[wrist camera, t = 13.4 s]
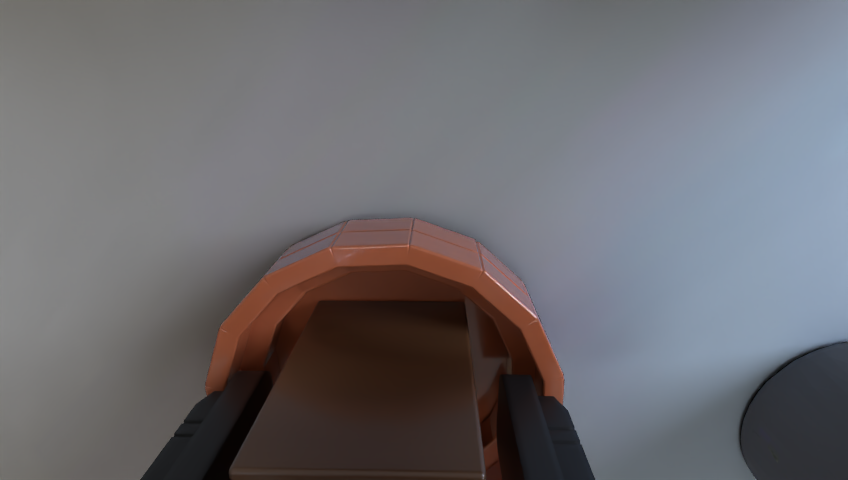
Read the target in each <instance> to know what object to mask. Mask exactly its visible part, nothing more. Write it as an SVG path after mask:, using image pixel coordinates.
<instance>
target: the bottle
mask: <svg viewBox="0 0 848 480" xmlns="http://www.w3.org/2000/svg"><path fill="white" fill-rule="evenodd" d="M741 447H742V451H743V456H744V459H745V461H746V463H747V465H748V467H749V469H750V470H751V472H752V473H753V475H754V476H755V477H756V479H757V480H848V342H847V343H841V344H835V345H831V346H828V347H825V348H822V349H819V350H816V351H813V352H811V353H809V354H807V355H805V356H803V357H801V358H799V359H797V360H795V361H793V362H792V363H790V364H789V365H788V366H786V367H785V368H783V369H782V370H781V371H780V372H778V373H777V374H776V375H775V376H773V377H772V378H771V379H770V380H768V381H767V382H766V383H765V385H764V386H763V387H762V388H761V389H760V390H759V392H758V393H757V395H756V396H755V398H754V399H753V401H752V402H751V404H750V406H749V408H748V411H747V413H746V416H745V418H744V420H743V425H742V432H741Z"/></svg>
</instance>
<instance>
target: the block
mask: <svg viewBox="0 0 848 480" xmlns="http://www.w3.org/2000/svg"><path fill="white" fill-rule="evenodd" d="M229 478H230V480H486V468H485V460H484V452H483V443H482V435H481V427H480V419H479V411H478V403H477V394H476V386H475V378H474V370H473V362H472V354H471V346H470V337H469V329H468V321H467V313H466V305H465V303H464V302H434V301H318V303H317V305H316V307H315V308H314V310H313V312H312V314H311V316H310V318H309V320H308V322H307V324H306V325H305V327H304V329H303V331H302V333H301V335H300V337H299V339H298V341H297V342H296V344H295V346H294V348H293V350H292V352H291V354H290V356H289V357H288V359H287V361H286V363H285V365H284V367H283V369H282V371H281V373H280V374H279V376H278V378H277V380H276V382H275V384H274V386H273V388H272V390H271V391H270V393H269V395H268V397H267V399H266V401H265V403H264V405H263V407H262V408H261V410H260V412H259V414H258V416H257V418H256V420H255V422H254V424H253V425H252V427H251V429H250V431H249V433H248V435H247V437H246V439H245V441H244V442H243V444H242V446H241V448H240V450H239V452H238V454H237V456H236V457H235V459H234V461H233V463H232V465H231V467H230V469H229Z"/></svg>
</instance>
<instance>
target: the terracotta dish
mask: <svg viewBox="0 0 848 480" xmlns="http://www.w3.org/2000/svg"><path fill="white" fill-rule="evenodd" d="M318 301H434V302H464V303H465V305H466V313H467V321H468V329H469V337H470V346H471V354H472V362H473V370H474V378H475V386H476V394H477V403H478V411H479V419H480V427H481V435H482V443H483V452H484V460H485V468H486V480H502V475H501V469H500V463H499V457H498V449H497V409H498V391H499V378H500V375H501V374H513V375H531V377H532V380H533V383H534V386H535V389H536V392H537V395H538V396H554V397H555V398H556V399H557V400H558V401H559V402H560V403H561V404H562V405H563V395H564V377H563V376H564V374H563V372H562V370H561V367H560V365H559V363H558V360H557V358H556V356H555V353H554V351H553V349H552V346H551V344H550V341H549V339H548V337H547V334H546V332H545V330H544V327H543V325H542V323H541V321H540V318H539V316H538V314H537V311H536V309H535V307H534V305H533V302H532V300H531V298H530V296H529V293H528V291H527V289H526V286H525V284H524V283H522V281H521V279H520V278H518V277H517V276H516V275H515V274H514V273H513V272H512V271H511V270H510V269H508V268H507V267H506V266H505V265H504V264H503V263H502V262H501V261H500V260H498V259H497V258H496V257H495V256H494V255H493V254H492V253H491V252H490V251H488V250H487V249H486V248H485V247H484V246H483V245H482V244H481V243H479V242H476V240H475V239H473V238H470V237H467V236H464V235H462V234H459V233H456V232H453V231H450V230H448V229H445V228H442V227H439V226H436V225H433V224H431V223H428V222H425V221H422V220H419V219H413V218H391V219H365V220H349V221H347V222H342V223H340V224H338V225H336V226H333V227H331V228H329V229H327V230H325V231H322V232H320V233H318V234H316V235H314V236H311V237H309V238H307V239H305V240H303V241H300V242H298V243H296V244H294V245H292V246H291V247H290V248H289V249H287V250H286V251H285V252H284V253H283V254H282V255H281V256H280V257H279V259H278V260H277V261H276V262H275V263H274V264H273V265H272V267H271V268H270V269H269V270H268V271H267V272H266V273H265V275H264V276H263V277H262V278H261V279H260V280H259V282H258V283H257V284H256V285H255V286H254V287H253V288H252V290H251V291H250V292H249V293H248V294H247V295H246V296H245V298H244V299H243V300H242V301H241V302H240V303H239V304H238V306H237V307H236V308H235V309H234V310H233V311H232V313H231V314H230V315H229V316H228V317H227V318H226V319H225V321H224V322H223V323H222V324H221V326H220V328H219V330H218V334H217V338H216V342H215V346H214V350H213V354H212V358H211V362H210V366H209V370H208V374H207V378H206V382H205V386H206V387H205V390H206V395H207V396H208V395H209V394H211V393H212V392H214V391H224V389H225V388H226V386H227V385H228V383H229V382H230V380H231V379H232V378H233V376H234V375H235V373H236V372H237V371H239V370H241V371H269V372H270V373H271V375H272V379H273V386H274V384H275V382H276V380H277V378H278V376H279V374H280V373H281V371H282V369H283V367H284V365H285V363H286V361H287V359H288V357H289V356H290V354H291V352H292V350H293V348H294V346H295V344H296V342H297V341H298V339H299V337H300V335H301V333H302V331H303V329H304V327H305V325H306V324H307V322H308V320H309V318H310V316H311V314H312V312H313V310H314V308H315V307H316V305H317V303H318Z"/></svg>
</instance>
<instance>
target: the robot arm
mask: <svg viewBox="0 0 848 480" xmlns="http://www.w3.org/2000/svg"><path fill="white" fill-rule="evenodd" d="M272 388H273V379H272V375H271V373H270V372H269V371H241V370H239V371H237V372H236V373H235V375H234V376H233V378H232V379H231V380H230V382H229V383H228V385H227V386H226V388H225V389H224V391H214V392H212V393H211V394H209V395H208V396H207V397H205V398H204V399H203V400H201V401H200V402H199V403H197V404H196V405H195V406H194V408H193V409H192V410H191V412H190V413H189V414H188V416H187V417H186V419H185V420H184V424H181V425H180V427H179V428H178V429H177V431H176V432H175V433H174V437H171V439H170V440H169V442H168V443H167V444H166V446H165V447H164V448H163V450H162V451H161V452H160V454H159V455H158V456H157V458H156V459H155V461H154V462H153V463H152V465H151V466H150V467H149V469H148V470H147V471H146V473H145V474H144V475H143V477H142V478H141V479H140V480H230V478H229V469H230V467H231V465H232V463H233V461H234V459H235V457H236V456H237V454H238V452H239V450H240V448H241V446H242V444H243V442H244V441H245V439H246V437H247V435H248V433H249V431H250V429H251V427H252V425H253V424H254V422H255V420H256V418H257V416H258V414H259V412H260V410H261V408H262V407H263V405H264V403H265V401H266V399H267V397H268V395H269V393H270V391H271V390H272ZM497 449H498V457H499V463H500V469H501V475H502V480H595V478H594V476H593V473H592V471H591V468H590V466H589V463H588V460H587V458H586V455H585V453H584V450H583V448H582V445H580V440H579V438H578V435H577V432H576V430H574V425H573V422H572V420H571V417H570V415H569V412H568V410H567V409H566V408H565V407H564V406H563V405H562V404H561V403H560V402H559V401H558V400H557V399H556V398H555V397H554V396H538V395H537V392H536V389H535V386H534V383H533V380H532V377H531V375H513V374H501V375H500V378H499V391H498V409H497Z"/></svg>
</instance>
